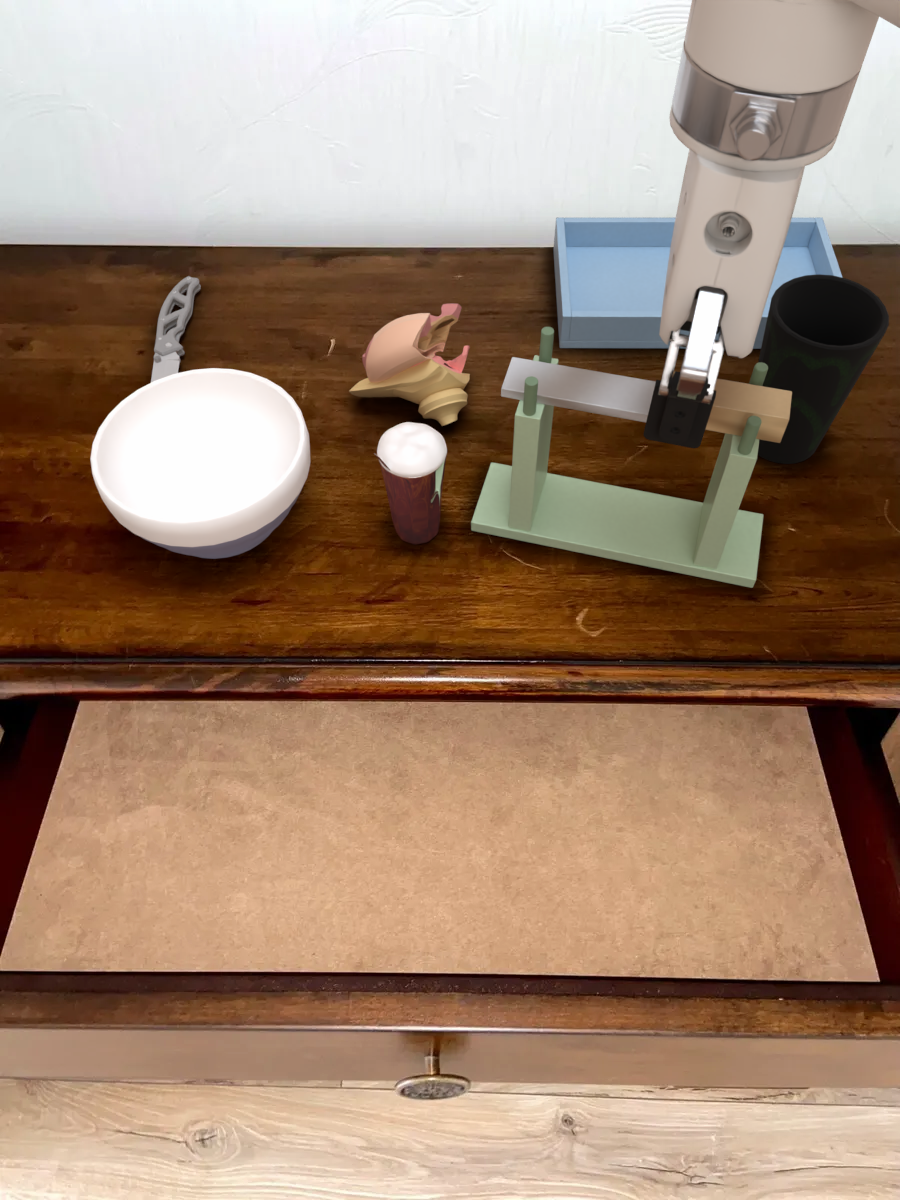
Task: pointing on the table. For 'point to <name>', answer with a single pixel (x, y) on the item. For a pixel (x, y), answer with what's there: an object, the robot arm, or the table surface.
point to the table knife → (647, 397)
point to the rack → (624, 503)
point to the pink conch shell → (417, 365)
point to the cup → (817, 354)
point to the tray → (647, 277)
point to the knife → (173, 328)
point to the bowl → (203, 461)
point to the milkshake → (413, 478)
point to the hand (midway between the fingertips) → (682, 382)
